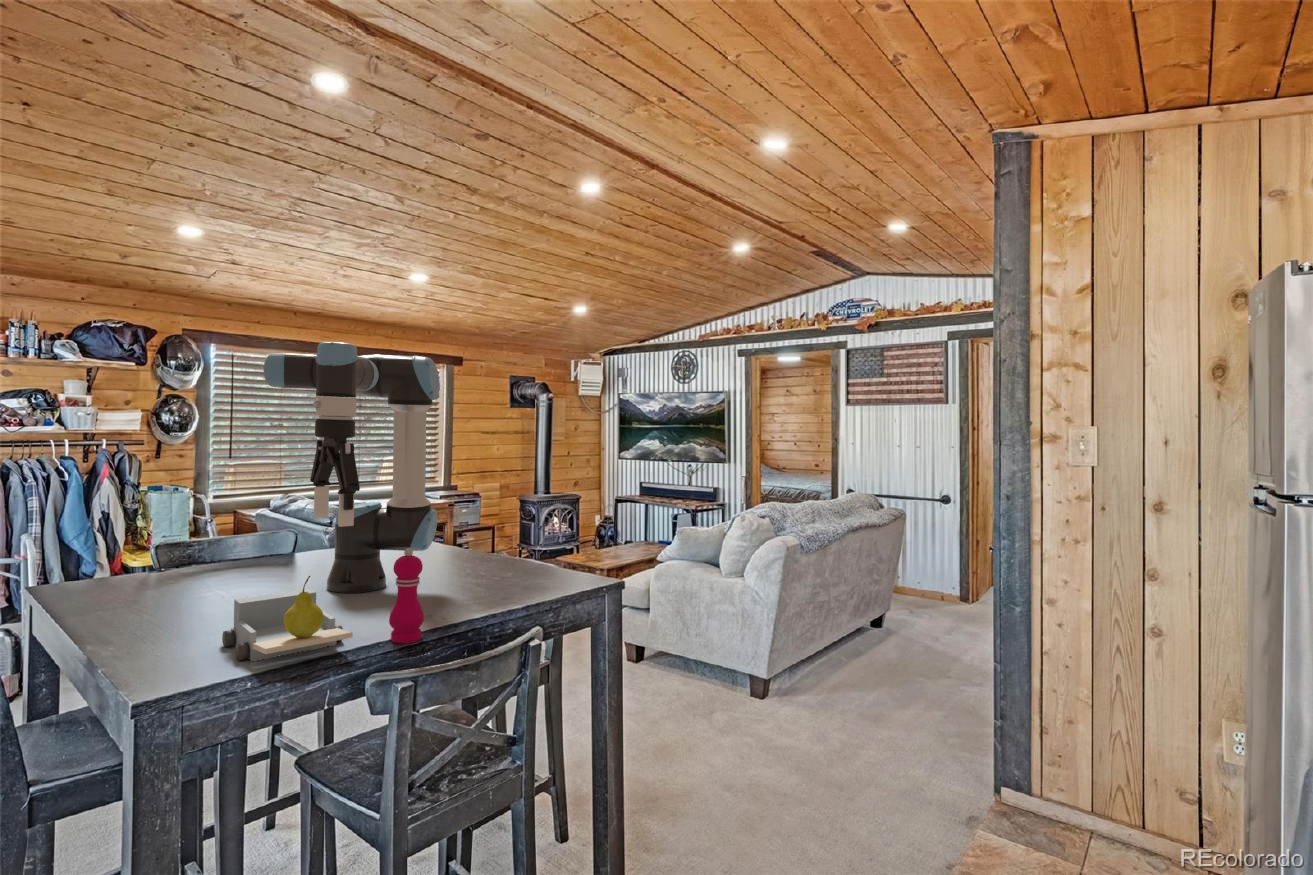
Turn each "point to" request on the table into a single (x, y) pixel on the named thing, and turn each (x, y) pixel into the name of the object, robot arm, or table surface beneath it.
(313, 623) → the fruit
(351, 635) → the panel
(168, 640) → the table surface
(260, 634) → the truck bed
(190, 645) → the table surface
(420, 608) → the pepper mill
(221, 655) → the table surface
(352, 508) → the robot arm
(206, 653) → the table surface
